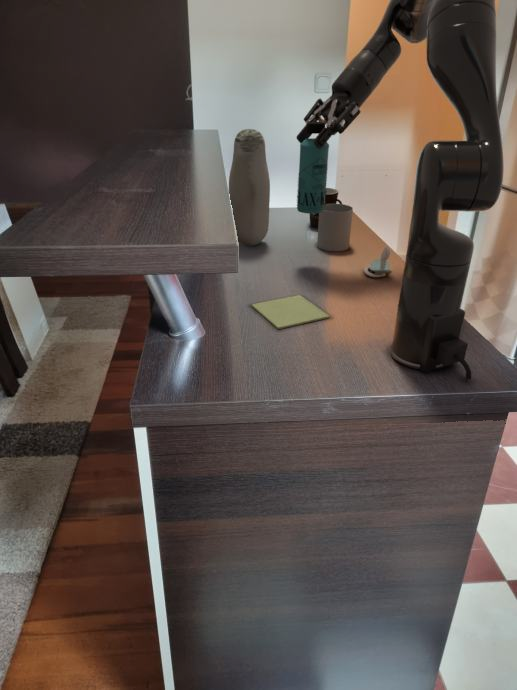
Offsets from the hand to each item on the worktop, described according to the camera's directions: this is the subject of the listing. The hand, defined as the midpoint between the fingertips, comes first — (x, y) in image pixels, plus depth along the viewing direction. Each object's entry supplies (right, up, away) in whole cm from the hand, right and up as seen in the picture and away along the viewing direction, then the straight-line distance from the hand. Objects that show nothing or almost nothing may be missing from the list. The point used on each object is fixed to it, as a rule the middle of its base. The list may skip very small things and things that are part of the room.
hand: (307, 143), depth 109 cm
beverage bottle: (+1, -14, +8) cm, 16 cm away
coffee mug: (+8, -9, +41) cm, 42 cm away
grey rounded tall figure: (-13, -16, +26) cm, 34 cm away
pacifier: (+17, -27, +8) cm, 33 cm away
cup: (+9, -17, +25) cm, 32 cm away
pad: (-5, -37, -10) cm, 38 cm away
